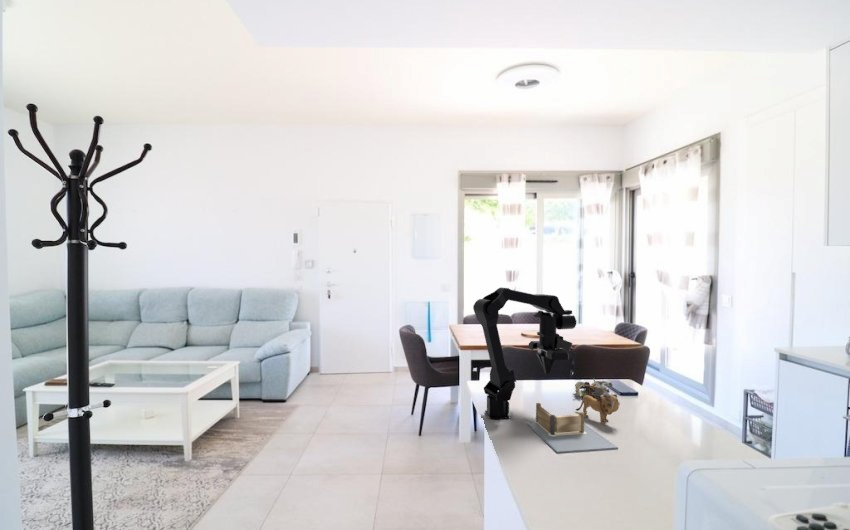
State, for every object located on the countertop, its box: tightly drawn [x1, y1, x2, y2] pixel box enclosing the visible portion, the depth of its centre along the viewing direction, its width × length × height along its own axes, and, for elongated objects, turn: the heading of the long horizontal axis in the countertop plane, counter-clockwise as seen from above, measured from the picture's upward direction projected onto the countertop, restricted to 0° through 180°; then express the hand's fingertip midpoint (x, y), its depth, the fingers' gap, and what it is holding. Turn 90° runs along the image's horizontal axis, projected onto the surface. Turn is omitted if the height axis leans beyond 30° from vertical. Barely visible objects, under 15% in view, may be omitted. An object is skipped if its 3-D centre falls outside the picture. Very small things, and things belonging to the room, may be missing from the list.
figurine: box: [573, 378, 618, 400], centre depth 147 cm, size 20×6×17 cm
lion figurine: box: [575, 394, 621, 425], centre depth 125 cm, size 15×5×9 cm, turn 38°
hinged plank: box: [555, 411, 585, 433], centre depth 113 cm, size 9×1×6 cm, turn 102°
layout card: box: [526, 421, 619, 454], centre depth 112 cm, size 18×19×1 cm
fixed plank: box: [535, 402, 556, 435], centre depth 116 cm, size 1×11×6 cm, turn 9°
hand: (547, 374), depth 134 cm, fingers closed
